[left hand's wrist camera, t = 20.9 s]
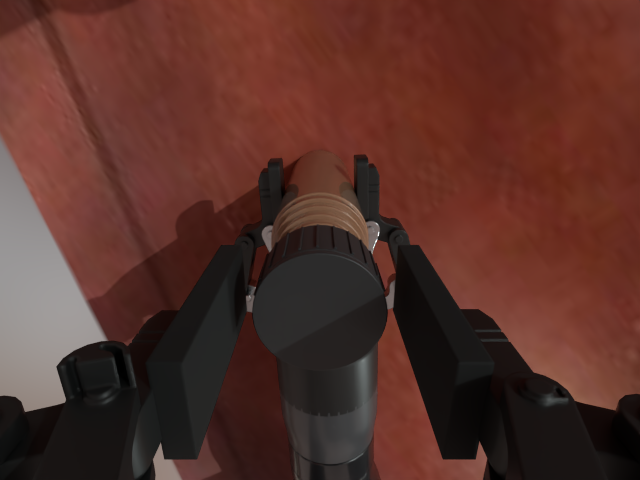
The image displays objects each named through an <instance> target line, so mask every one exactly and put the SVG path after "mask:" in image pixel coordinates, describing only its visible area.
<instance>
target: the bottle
mask: <svg viewBox="0 0 640 480" xmlns="http://www.w3.org/2000/svg"><path fill="white" fill-rule="evenodd" d="M317 224H319V225H328V226H335V227H338V228H341V229H343V230H346V231H350V233H351V234H353V235H354V236H356V237H357V238H358V239H361V240H362V242H363V243H364V244H365V246H366V247H367V248H368V246H369V236H368V228H367V225H366V222H365V219H364V216H363V213H362V210H361V208H360V205H359V202H358V199H357V196H356V193H355V190H354V188H353V185H352V182H351V179H350V176H349V173H348V171H347V168H346V166H345V164H344V163H343V161H342V160H341V159H340V158H339V157H338V156H336V155H335V154H333V153H331V152H328V151H322V150H318V151H312V152H309V153H307V154H305V155H304V156H302V157H301V158H300V159H299V160H298V161H297V162H296V164H295V166H294V168H293V170H292V173H291V176H290V179H289V182H288V184H287V187H286V190H285V193H284V196H283V199H282V201H281V204H280V207H279V210H278V213H277V216H276V218H275V221H274V224H273V228H272V234H271V248H273V247H274V245H275V243H276V242H278V241H279V240H280V239H282V238H283V237H284V236H286V234H287V233H290V232H292V231H294V230H296V229H299V228H301V227H306V226H311V225H317Z"/></svg>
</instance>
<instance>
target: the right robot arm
mask: <svg viewBox="0 0 640 480" xmlns="http://www.w3.org/2000/svg"><path fill="white" fill-rule="evenodd" d="M258 182H259V190H260V201H261V210H262V220H261V221H260V222H258V223H255V224H247V225H245V226H244V227H243V229H242V230H241V234H240V235H239V236H238V237H237V239H236V241H235V245H242V251H243V264H244V277H245V290H246V303H247V311H248V312H252V307H253V300H254V297H255V296H253V295H254V291H255V288H256V285H257V281H256V280H252V279H251V278H252V272H253V266H254V261H255V255H256V249H257V248H258V247H260V246H263V245H265V244H266V246H267V248H268V250H269V252H270V251H271V250H272V248H271V234H272V228H273V224H274V221H275V218H276V216H277V213H278V210H279V207H280V204H281V201H282V199H283V196H284V193H285V184H284V172H283V161H282V158H274V159H270V160H269V162H268V168H264V169H263V170H262V172H261V174H260V177H259V181H258ZM354 190H355V193H356V196H357V199H358V202H359V205H360V208H361V210H362V213H363V216H364V219H365V222H366V225H367V228H368V236H369V246H368V250H369V251H370V250H371V252H373V249H374V246H375V244H376V241H377V240H381V241H384V242H387V243H388V247H389V250H390V254H391V257H392V261H393V264H394V268H395V272H396V264H397V251H398V245H410V242H409V238H408V235H407V233H406V231H405V230H404V228H403V226H402V225H401V223H400V222H399V220H397V219H395V218H390V219H389V218H386V217H383V216H381V215H380V214H379V174H378V171H377V169H376V167H375V166H374V164H368V158H367V156H366V155H354ZM395 277H396V273H395V274H392V275H391V276H390V277H389V278H388V280H387V284H388V286H387V288H386V290H385V292H384V294H385V297H386V301H387V309H390V308H393V303H394V290H395ZM276 360H277V369H278V379H279V389H280V398H281V407H282V414H283V418H284V422H285V426H286V429H287V434H288V443H289V453H290V463H291V470H292V474H293V478H294V479H293V480H381V479H380V476H379V473H378V470H377V467H376V465H375V462H374V424H375V419H376V413H377V368H378V343H377V344H376V345H375V346H374V348H373V349H372V350H371V351H370V352H369V353H367V354H366V355H365V356H364V357H362V358H361V359H359V360H357V361H356V362H354V363H352V364H349V365H347V366H344V367H341V368H337V369H332V370H308V369H303V368H299V367H296V366H293V365H290V364H288V363H286V362H284V361H282V360H281V359H279V358H278V357H276Z"/></svg>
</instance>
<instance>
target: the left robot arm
mask: <svg viewBox="0 0 640 480" xmlns="http://www.w3.org/2000/svg"><path fill="white" fill-rule="evenodd" d="M246 312H247V303H246V290H245V277H244V264H243V251H242V245H221V246H220V248H219V249H218V251H217V252H216V254H215V256H214V257H213V259H212V260H211V262H210V263H209V265H208V266H207V268H206V270H205V271H204V273H203V274H202V276H201V277H200V279H199V280H198V282H197V284H196V285H195V287H194V288H193V290H192V291H191V293H190V294H189V296H188V297H187V299H186V301H185V302H184V304H183V305H182V307H181V308H180V310H179V311H160V312H159V313H157V314H156V315H154V316H153V317H151V318H150V319H149V320H147V322H146V323H145V324H144V326H143V327H142V328H141V329H140V331H139V334H137V335H136V336H135V337H134V339H133V340H132V343H130V344H129V345H128V346H126V345H125V344H124V343H121V342H117V341H101V342H97V343H93V344H89V345H86V346H84V347H82V348H79V349H77V350H75V351H73V352H72V353H70V354H69V355H67V356H66V357H65V358H63V359H62V360H61V362H60V363H59V364H58V365H57V370H58V374H59V377H60V381H61V384H62V387H63V391H64V394H65V397H66V402H65V403H62V404H59V405H55V406H51V407H46V408H42V409H37V410H33V411H28V412H25V411H24V408H23V405H22V402H21V401H20V400H18V399H17V398H16V397H11V396H0V480H155V468H154V463H153V458H154V456H155V453H156V451H157V449H158V447H159V445H160V443H161V445H162V450H163V455H164V459H197V458H198V455H199V452H200V449H201V446H202V443H203V440H204V437H205V434H206V431H207V428H208V425H209V422H210V419H211V416H212V413H213V410H214V407H215V404H216V401H217V398H218V395H219V392H220V389H221V386H222V383H223V380H224V377H225V374H226V371H227V368H228V365H229V362H230V359H231V356H232V353H233V350H234V347H235V345H236V342H237V339H238V336H239V333H240V330H241V327H242V324H243V321H244V318H245V315H246ZM393 312H394V315H395V318H396V321H397V324H398V327H399V330H400V333H401V336H402V339H403V342H404V345H405V348H406V350H407V353H408V356H409V359H410V362H411V365H412V368H413V371H414V374H415V377H416V380H417V383H418V386H419V389H420V392H421V395H422V398H423V401H424V404H425V407H426V410H427V413H428V416H429V419H430V422H431V425H432V428H433V431H434V434H435V437H436V440H437V443H438V446H439V449H440V452H441V455H442V458H443V459H476V455H477V450H478V445H479V441H480V443H481V445H482V447H483V449H484V452H485V454H486V456H487V463H486V468H485V472H484V477H483V480H640V394H632V395H625V396H624V397H623V398H621V399H620V400H619V402H618V405H617V408H616V411H615V410H610V409H606V408H601V407H597V406H592V405H588V404H584V403H580V402H577V401H574V399H573V397H572V396H571V394H570V393H569V392H568V390H567V389H565V388H564V387H563V386H562V385H560V384H559V383H558V382H556V381H554V380H552V379H550V378H548V377H546V376H544V375H540V374H537V373H533V371H532V370H531V369H530V367H529V366H528V365H527V363H526V362H525V361H524V359H523V358H522V357H521V355H520V354H519V353H518V352H517V350H516V349H515V348H514V346H513V345H512V344H511V342H508V338H507V337H506V336H505V334H504V333H503V332H501V329H500V328H499V327H498V325H497V324H496V323H495V321H494V320H493V319H492V318H491V317H489V316H488V315H486V314H485V313H483V312H482V311H480V310H479V309H460V308H459V307H458V305H457V304H456V302H455V301H454V299H453V297H452V296H451V294H450V293H449V291H448V290H447V288H446V287H445V285H444V284H443V282H442V280H441V279H440V277H439V276H438V274H437V273H436V271H435V270H434V268H433V266H432V265H431V263H430V262H429V260H428V259H427V257H426V256H425V254H424V252H423V251H422V249H421V248H420V246H419V245H398V251H397V264H396V277H395V290H394V303H393Z"/></svg>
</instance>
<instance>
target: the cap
mask: <svg viewBox="0 0 640 480" xmlns="http://www.w3.org/2000/svg"><path fill="white" fill-rule="evenodd" d="M384 292H385V288H384V285H383V282H382V279H381V276H380V272H379V269H378V266H377V263H375V261H374V258H373V255H372V252H371V250H370V251H369V250H368V248H367V247H366V246H365V244H364V243H363V242H362V240H361V239H358V238H357V237H356V236H354V235H353V234H351V233H350V231H346V230H343V229H341V228H338V227H335V226H328V225H319V224H317V225H311V226H306V227H301V228H299V229H296V230H294V231H292V232H290V233H287V234H286V236H284V237H283V238H282V239H280V240H279V241H278V242H276V243H275V245H274V247H273V248H272V250H271V251H270V253H269V254H267V255H266V259H265V262H264V265H263V267H262V270H261V273H260V276H259V279H258V282H257V285H256V288H255V291H254V295H253V296H255V297H254V300H253V307H252V317H253V323H254V326H255V329H256V332H257V334H258V336H259V338H260V340H261V341H262V343H263V344H264V345H265V347H266V348H267V349H268V350H269V351H270V352H271V353H272V354H274V355H275V356H276V357H278V358H279V359H281V360H282V361H284V362H286V363H288V364H290V365H293V366H296V367H299V368H303V369H308V370H332V369H337V368H341V367H344V366H347V365H349V364H352V363H354V362H356V361H357V360H359V359H361V358H362V357H364V356H365V355H366V354H367V353H369V352H370V351H371V350H372V349H373V348H374V346H375V345H376V344H377V343H378V341H379V339H380V338H381V336H382V334H383V331H384V329H385V326H386V322H387V314H388V310H387V301H386V297H385V294H384Z"/></svg>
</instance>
